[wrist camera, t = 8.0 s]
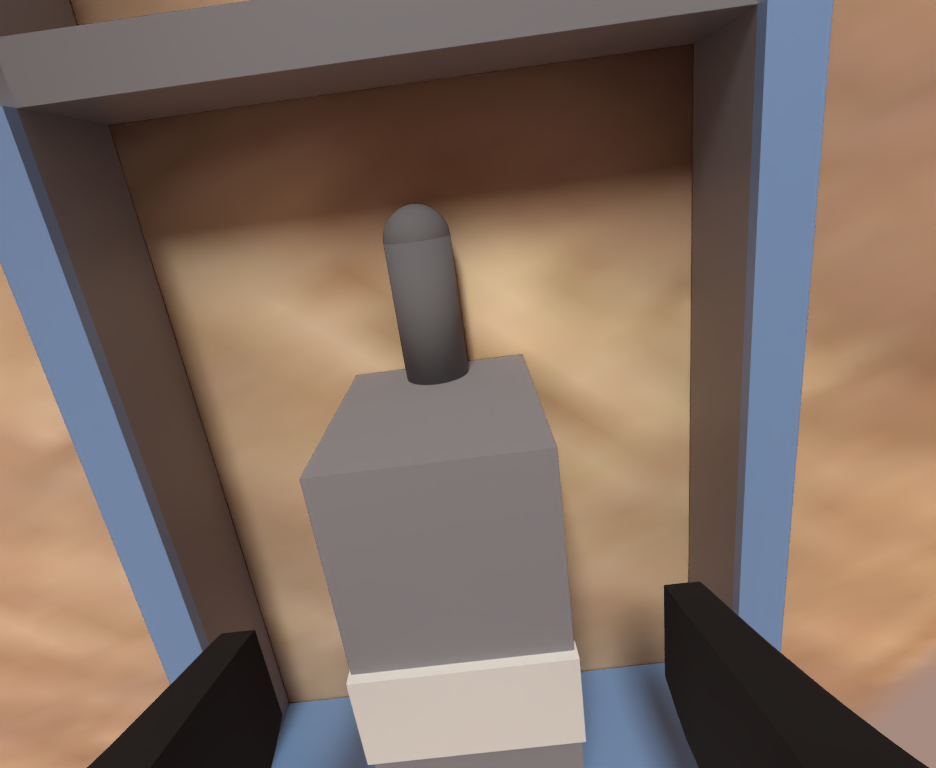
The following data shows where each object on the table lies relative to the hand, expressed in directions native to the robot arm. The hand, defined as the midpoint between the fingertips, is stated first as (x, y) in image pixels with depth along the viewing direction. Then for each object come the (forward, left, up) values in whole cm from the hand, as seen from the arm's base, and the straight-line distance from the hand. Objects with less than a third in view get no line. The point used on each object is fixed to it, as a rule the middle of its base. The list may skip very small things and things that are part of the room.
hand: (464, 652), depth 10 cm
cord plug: (0, -2, -5) cm, 5 cm away
